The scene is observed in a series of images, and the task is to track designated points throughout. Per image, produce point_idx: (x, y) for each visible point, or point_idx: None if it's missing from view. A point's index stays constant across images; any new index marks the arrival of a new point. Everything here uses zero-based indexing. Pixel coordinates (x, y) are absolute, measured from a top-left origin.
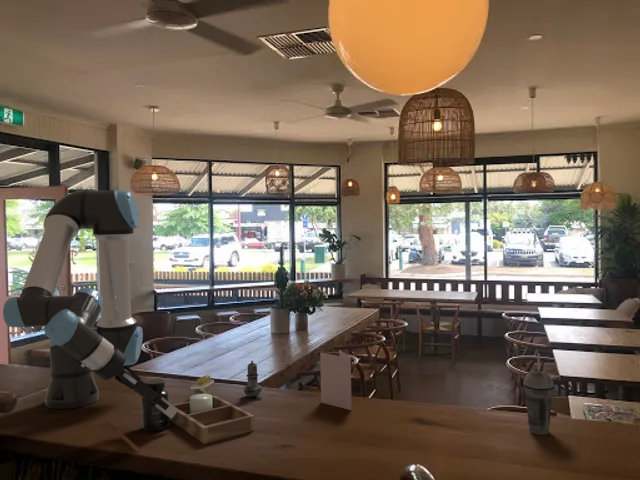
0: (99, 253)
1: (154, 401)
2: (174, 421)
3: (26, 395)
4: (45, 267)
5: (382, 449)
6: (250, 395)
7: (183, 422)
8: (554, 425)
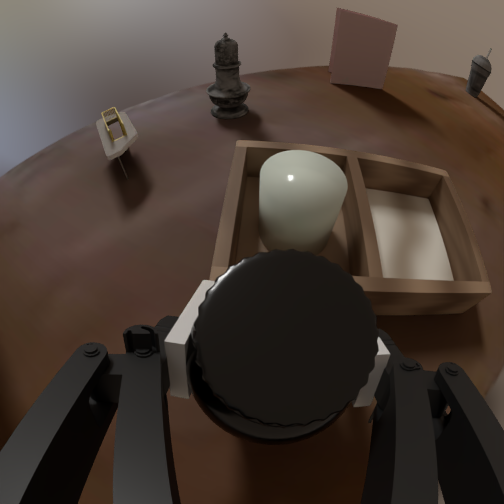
0: None
1: (442, 412)
2: None
3: None
4: None
5: (500, 155)
6: (238, 104)
7: None
8: (462, 84)
